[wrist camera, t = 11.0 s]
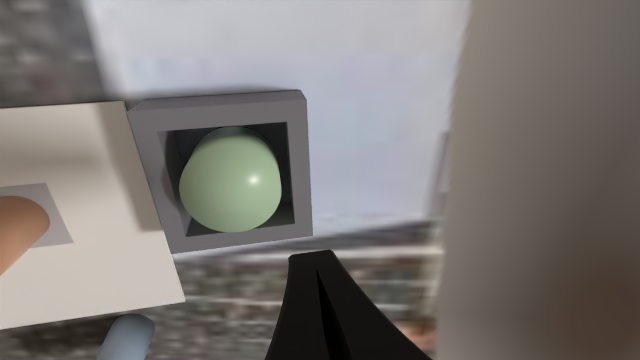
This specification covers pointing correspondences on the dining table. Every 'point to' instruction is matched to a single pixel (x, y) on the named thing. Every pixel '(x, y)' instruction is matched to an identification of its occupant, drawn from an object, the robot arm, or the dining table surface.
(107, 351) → the marker slate
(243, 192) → the button
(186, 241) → the button housing
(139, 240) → the paper
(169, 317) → the dining table surface
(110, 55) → the dining table surface
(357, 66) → the dining table surface
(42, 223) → the marker terracotta
